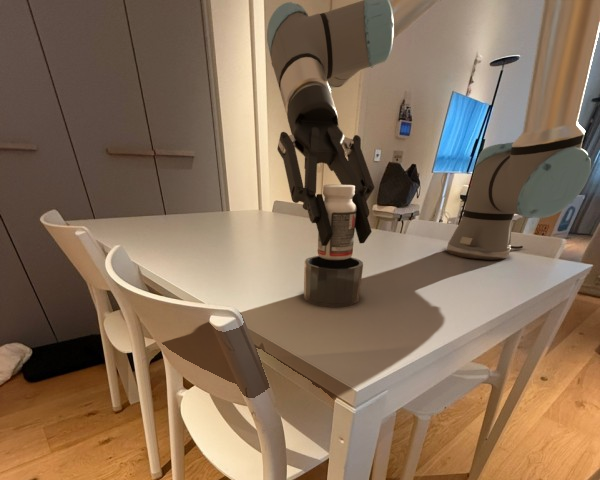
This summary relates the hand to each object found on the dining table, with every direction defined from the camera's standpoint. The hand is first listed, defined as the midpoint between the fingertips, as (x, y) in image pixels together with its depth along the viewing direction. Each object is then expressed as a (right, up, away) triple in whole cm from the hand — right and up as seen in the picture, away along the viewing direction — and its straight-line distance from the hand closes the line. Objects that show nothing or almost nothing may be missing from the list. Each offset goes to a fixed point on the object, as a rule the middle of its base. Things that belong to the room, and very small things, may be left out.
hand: (346, 238), depth 50 cm
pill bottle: (-1, -1, +5) cm, 5 cm away
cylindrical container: (-2, -6, +9) cm, 11 cm away
